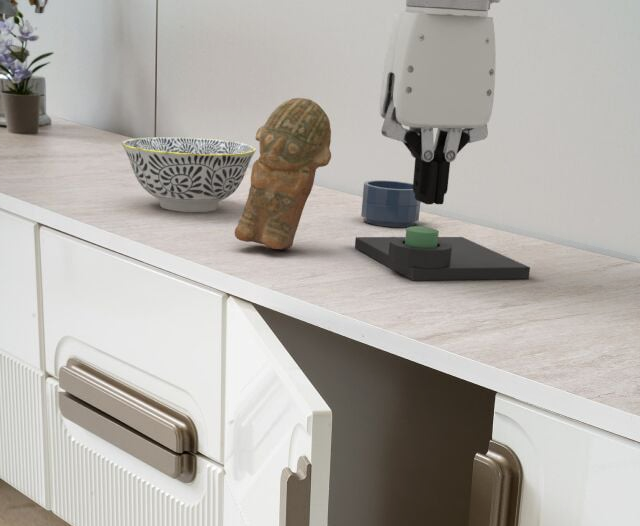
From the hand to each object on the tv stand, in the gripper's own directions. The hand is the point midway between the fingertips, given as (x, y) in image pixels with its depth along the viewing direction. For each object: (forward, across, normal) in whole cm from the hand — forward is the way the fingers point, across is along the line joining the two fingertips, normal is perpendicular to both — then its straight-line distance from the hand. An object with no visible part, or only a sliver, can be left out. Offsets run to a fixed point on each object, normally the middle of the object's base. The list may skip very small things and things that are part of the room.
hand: (428, 201), depth 110 cm
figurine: (+7, +11, -12) cm, 17 cm away
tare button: (+4, 0, 0) cm, 4 cm away
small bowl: (+7, -8, -26) cm, 29 cm away
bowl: (+7, +15, -36) cm, 39 cm away
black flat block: (+7, -4, -4) cm, 9 cm away
